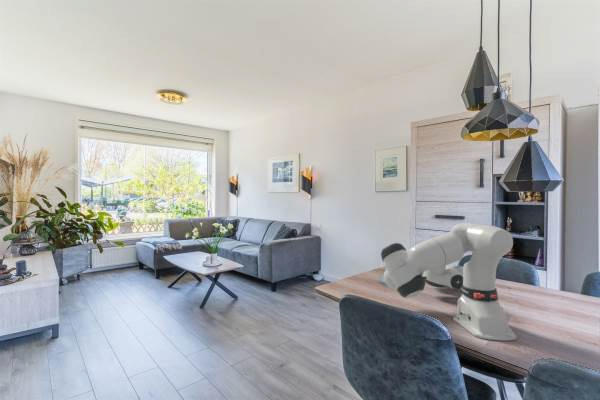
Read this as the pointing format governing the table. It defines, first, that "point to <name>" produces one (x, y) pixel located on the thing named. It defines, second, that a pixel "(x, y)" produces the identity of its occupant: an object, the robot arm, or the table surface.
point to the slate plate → (381, 279)
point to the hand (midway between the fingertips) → (437, 266)
